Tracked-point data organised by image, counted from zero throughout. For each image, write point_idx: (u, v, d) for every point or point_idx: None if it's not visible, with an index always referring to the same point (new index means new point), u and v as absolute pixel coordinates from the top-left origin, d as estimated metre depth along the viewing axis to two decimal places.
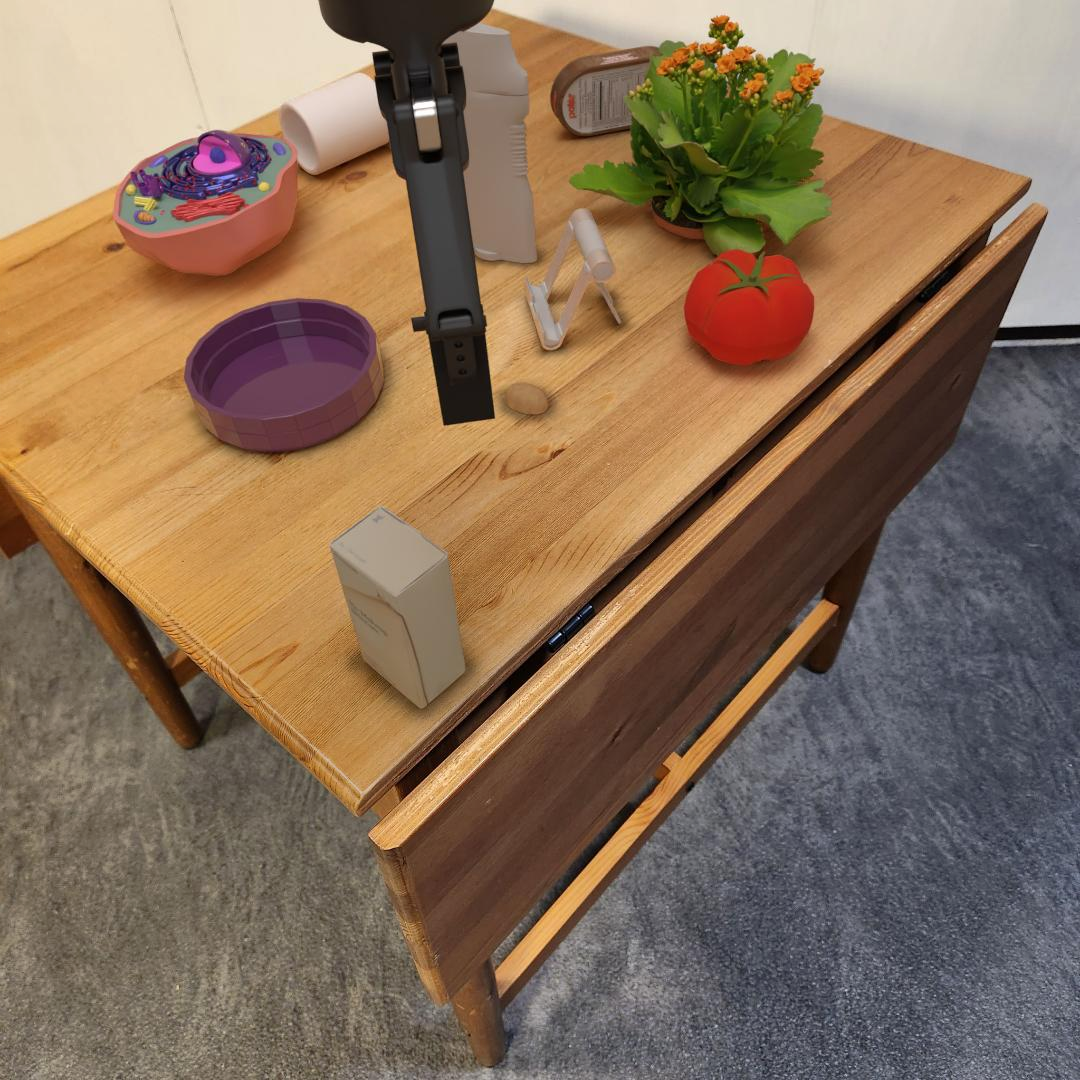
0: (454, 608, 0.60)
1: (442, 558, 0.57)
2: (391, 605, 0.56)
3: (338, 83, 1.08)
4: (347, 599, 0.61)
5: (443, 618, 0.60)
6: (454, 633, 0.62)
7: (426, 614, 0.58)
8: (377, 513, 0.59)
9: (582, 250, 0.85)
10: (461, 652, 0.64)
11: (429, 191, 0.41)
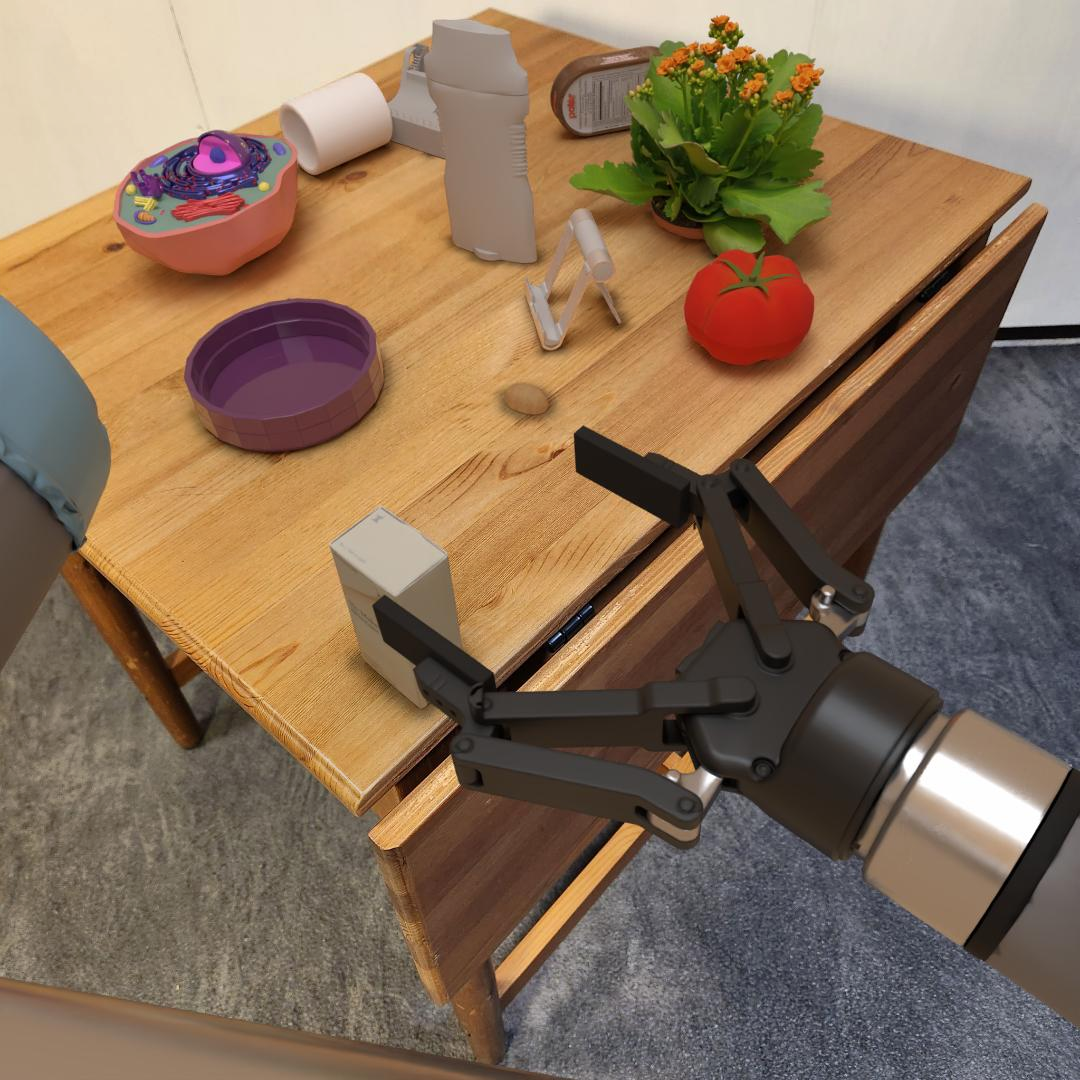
0: (454, 608, 0.60)
1: (442, 558, 0.57)
2: None
3: (338, 83, 1.08)
4: (347, 599, 0.61)
5: (443, 618, 0.60)
6: (454, 633, 0.62)
7: (426, 614, 0.58)
8: (377, 513, 0.59)
9: (582, 250, 0.85)
10: None
11: (606, 800, 0.37)
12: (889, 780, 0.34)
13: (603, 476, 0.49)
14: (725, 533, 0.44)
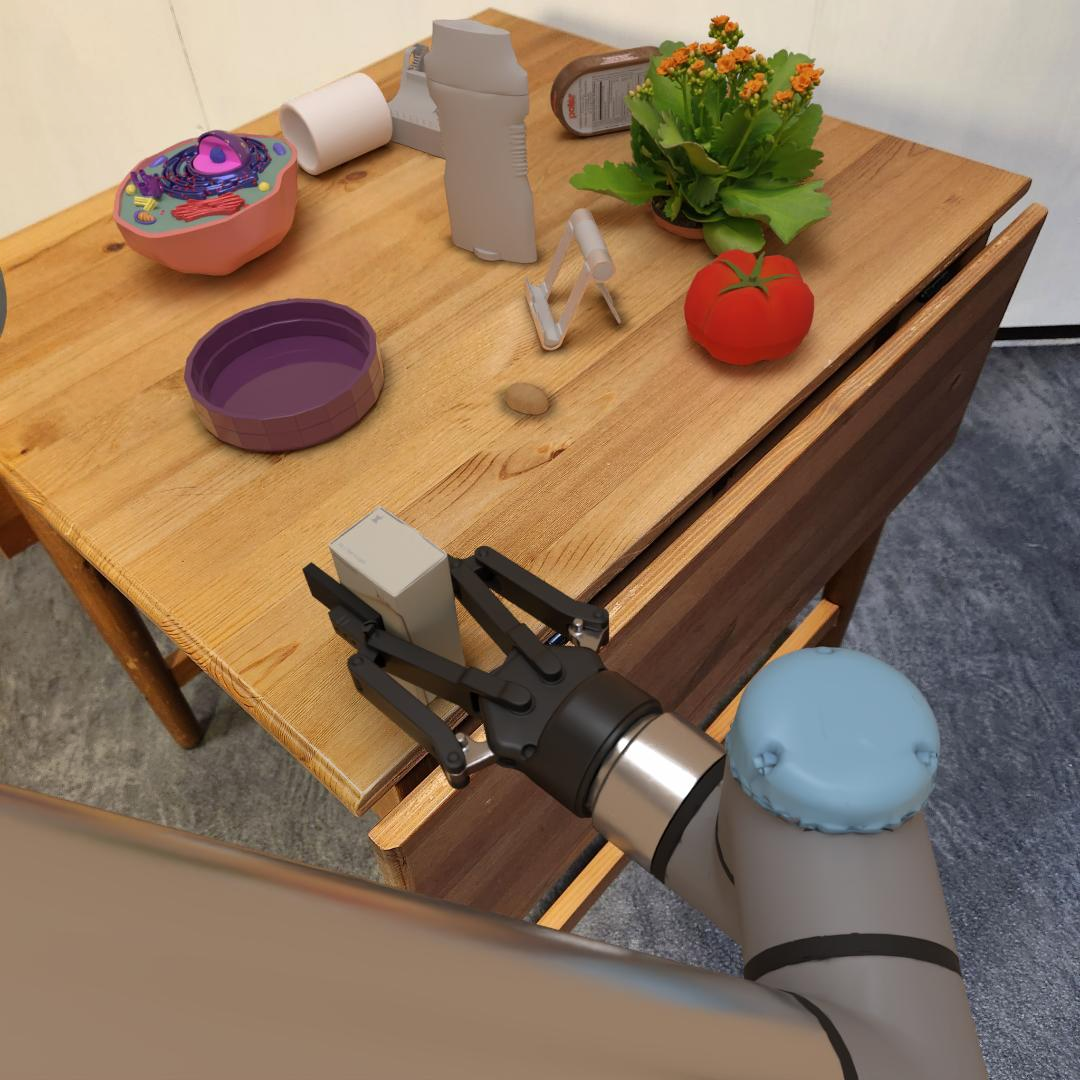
0: (454, 608, 0.60)
1: (441, 559, 0.57)
2: (391, 605, 0.56)
3: (338, 83, 1.08)
4: None
5: (443, 618, 0.60)
6: (454, 633, 0.62)
7: (426, 615, 0.58)
8: (376, 513, 0.59)
9: (582, 250, 0.85)
10: (461, 652, 0.64)
11: (418, 734, 0.54)
12: (604, 760, 0.49)
13: None
14: (482, 598, 0.59)
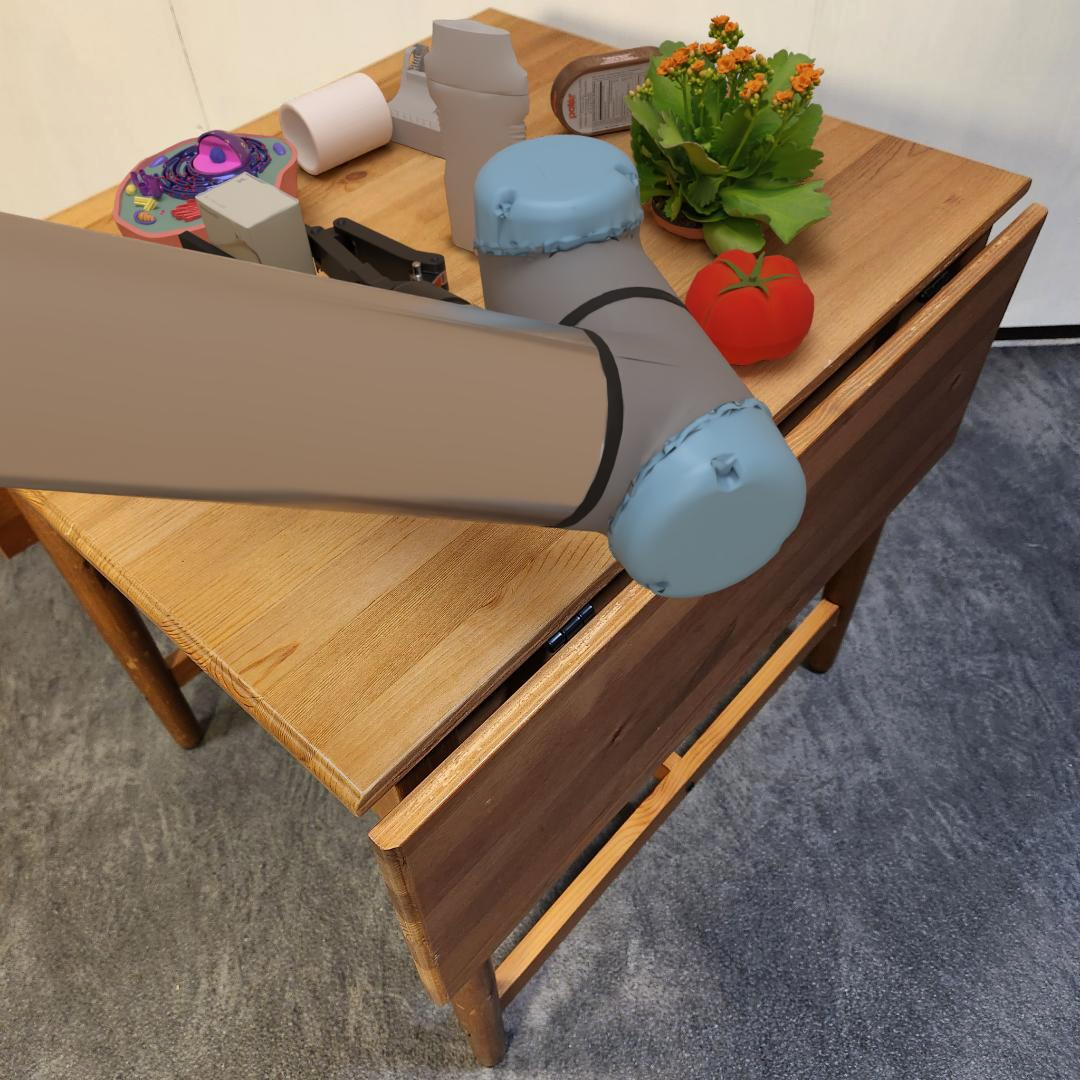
0: (313, 268, 0.67)
1: (293, 204, 0.63)
2: (246, 243, 0.63)
3: (338, 83, 1.08)
4: None
5: None
6: None
7: (283, 263, 0.65)
8: (241, 176, 0.66)
9: None
10: None
11: None
12: None
13: None
14: (334, 251, 0.65)
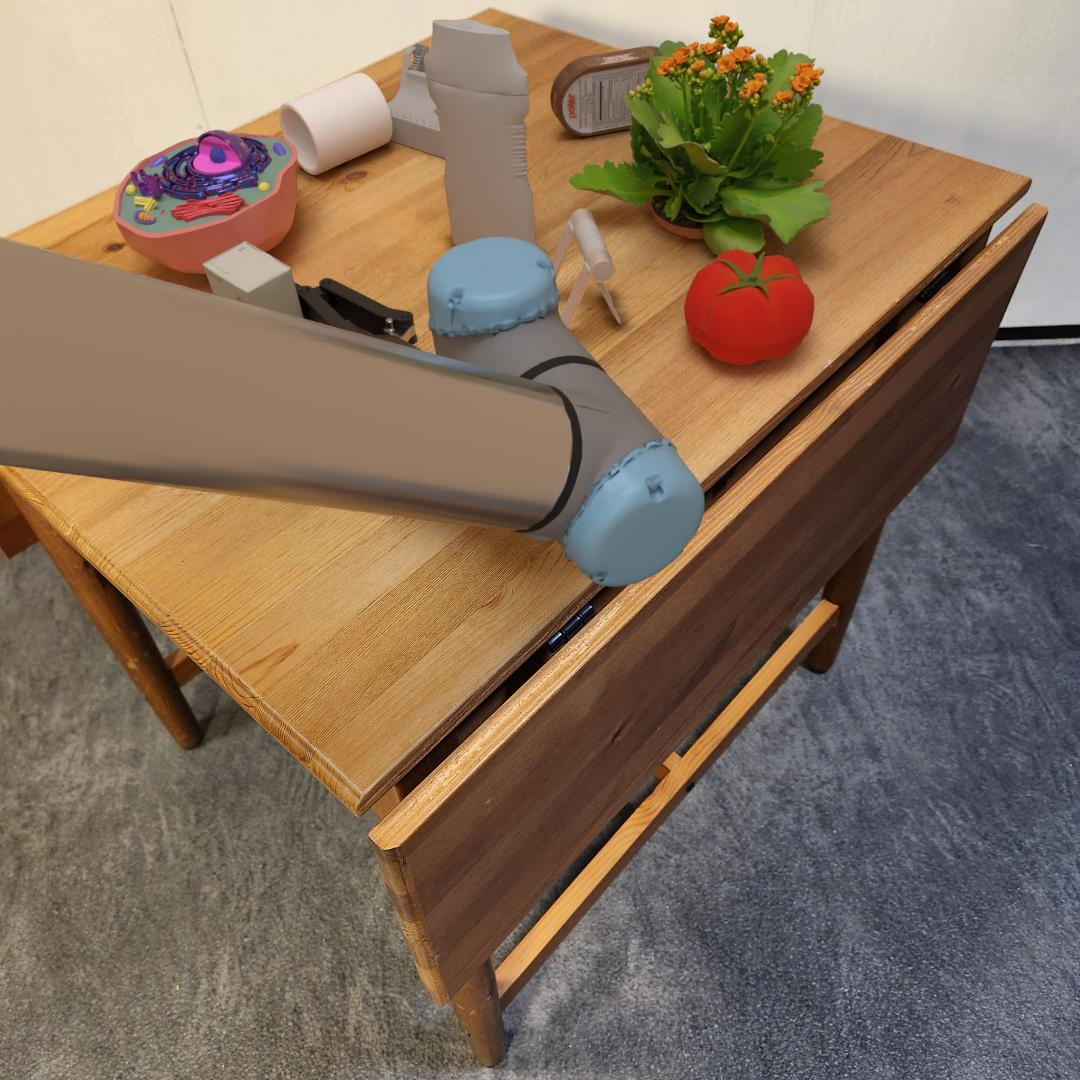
0: None
1: (286, 271, 0.76)
2: None
3: (338, 83, 1.08)
4: None
5: None
6: None
7: None
8: (242, 245, 0.78)
9: (582, 250, 0.85)
10: None
11: None
12: None
13: None
14: (320, 308, 0.78)
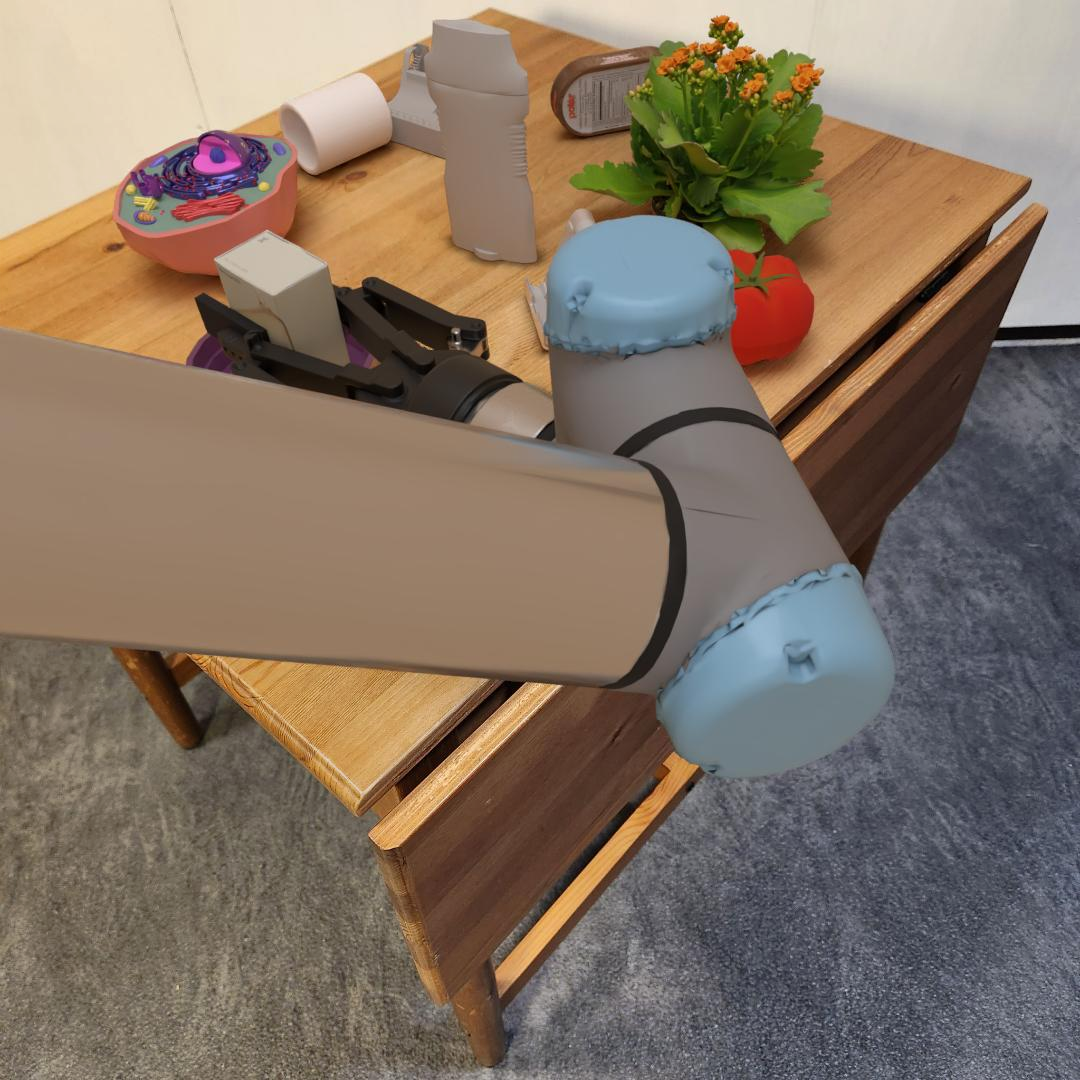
0: (341, 333, 0.62)
1: (322, 267, 0.58)
2: (272, 310, 0.58)
3: (338, 83, 1.08)
4: None
5: (330, 340, 0.62)
6: (344, 364, 0.64)
7: (310, 329, 0.60)
8: (263, 235, 0.61)
9: None
10: None
11: None
12: (464, 420, 0.51)
13: None
14: (365, 315, 0.60)
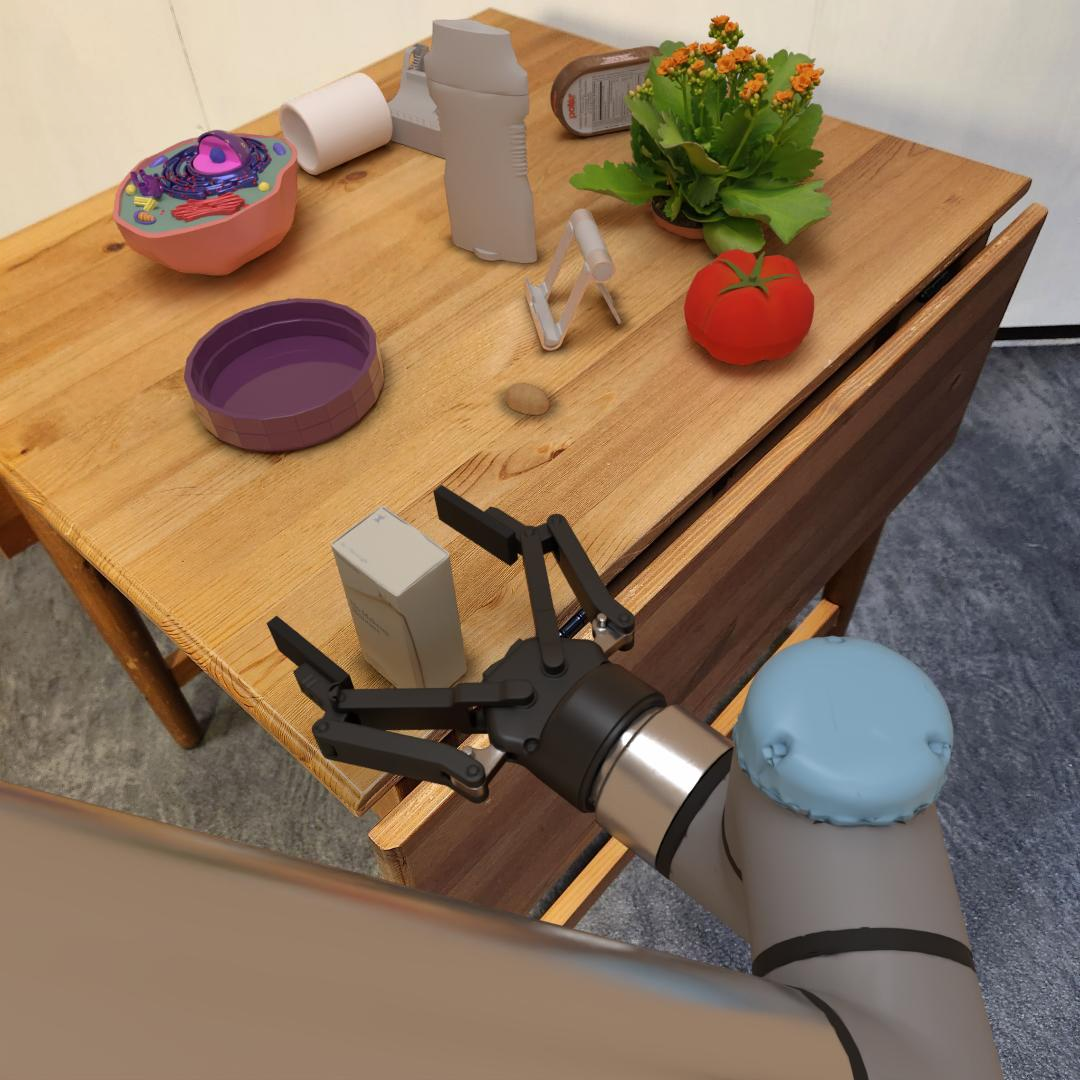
0: (455, 608, 0.60)
1: (444, 558, 0.57)
2: (393, 605, 0.56)
3: (338, 83, 1.08)
4: (348, 599, 0.61)
5: (444, 618, 0.60)
6: (455, 633, 0.62)
7: (428, 614, 0.58)
8: (379, 513, 0.59)
9: (582, 250, 0.85)
10: (462, 652, 0.64)
11: (421, 767, 0.51)
12: (608, 754, 0.49)
13: (457, 524, 0.64)
14: (534, 572, 0.59)
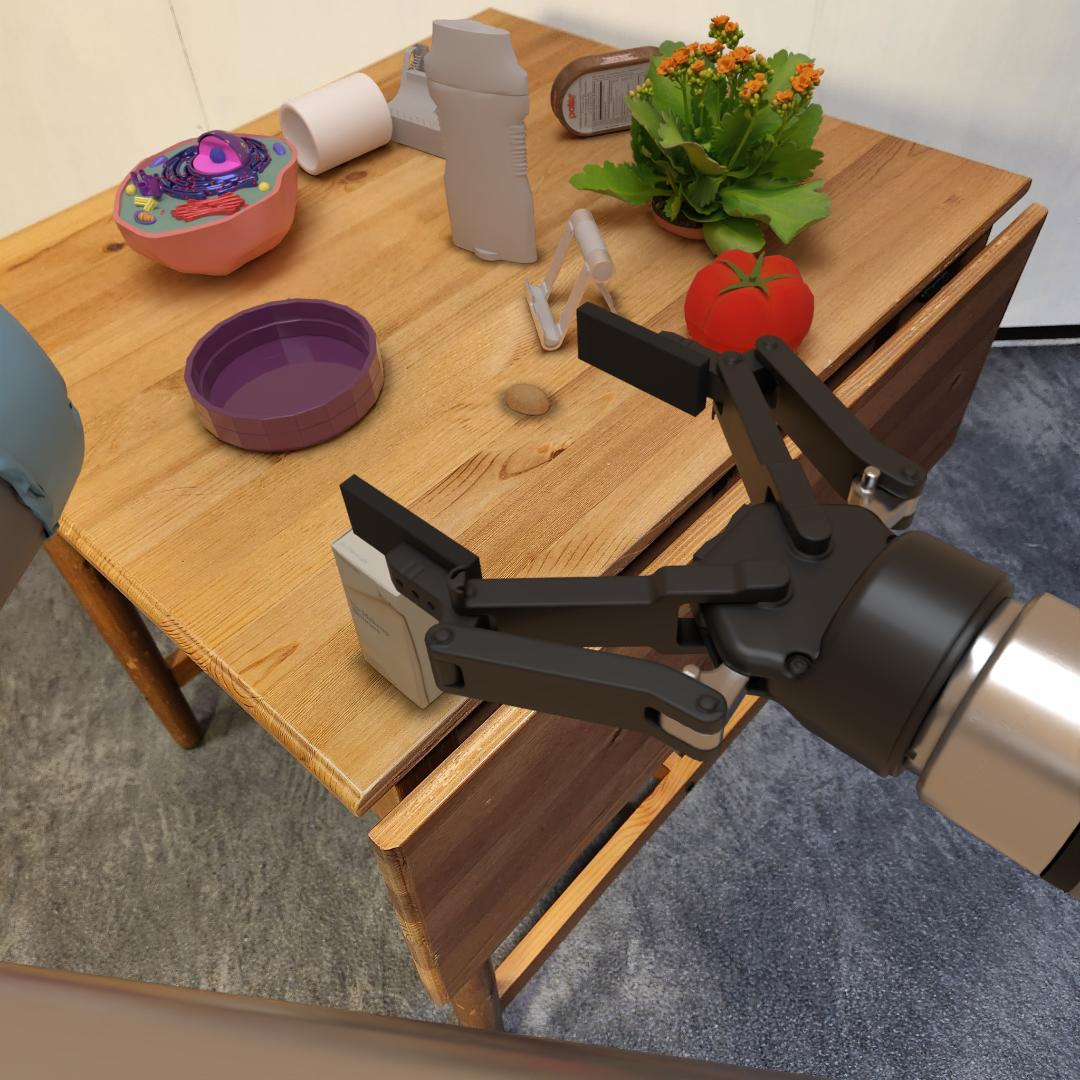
0: None
1: None
2: (393, 605, 0.56)
3: (338, 83, 1.08)
4: (348, 599, 0.61)
5: None
6: None
7: (428, 614, 0.58)
8: None
9: (582, 250, 0.85)
10: None
11: (610, 701, 0.31)
12: (955, 671, 0.28)
13: (609, 360, 0.43)
14: (750, 411, 0.38)
